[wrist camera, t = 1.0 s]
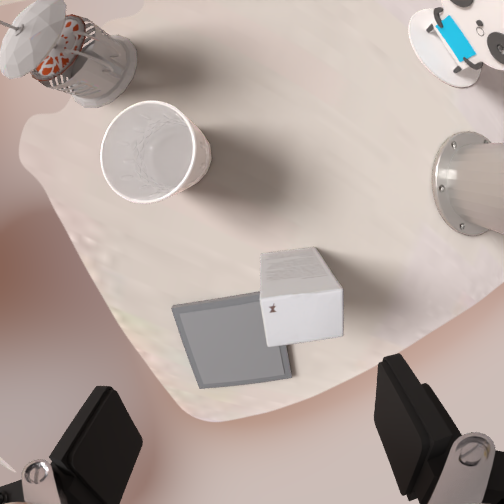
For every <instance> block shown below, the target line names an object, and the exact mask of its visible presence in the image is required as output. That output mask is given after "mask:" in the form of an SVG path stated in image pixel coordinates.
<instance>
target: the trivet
mask: <svg viewBox="0 0 504 504" xmlns="http://www.w3.org/2000/svg"><path fill="white" fill-rule="evenodd" d="M171 309H172V312H173V315H174V318H175V321H176V324H177V327H178V330H179V333H180V336H181V339H182V342H183V345H184V348H185V351H186V353H187V356H188V359H189V362H190V364H191V367H192V370H193V373H194V375H195V378H196V381H197V383H198V386H199V388H200V389H203V388H216V387H226V386H236V385H245V384H253V383H261V382H268V381H275V380H281V379H288V378H292V374H291V369H290V363H289V358H288V352H287V347H286V345H282V346H273V347H268V346H267V342H266V336H265V330H264V324H263V318H262V311H261V305H260V292H254V293H248V294H242V295H236V296H230V297H224V298H218V299H211V300H205V301H199V302H192V303H185V304H179V305H173V306H172V308H171Z"/></svg>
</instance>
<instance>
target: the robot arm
mask: <svg viewBox="0 0 504 504" xmlns="http://www.w3.org/2000/svg"><path fill="white" fill-rule="evenodd" d="M432 188H433V195H434V199H435V203H436V206H437V208H438V211H439V213H440V214H441V216H442V218H443V219H444V221H445V222H446V223H447V224H448V225H449V226H450V227H451V228H452V229H454V230H455V231H457V232H460V233H462V234H465V235H470V236H475V235H480V234H482V233H484V232H486V231H488V230H489V229H490V230H493V231H496V232H498V233H501V234H504V143H491V142H490V141H489V140H488V139H487V138H486V137H484V136H483V135H481V134H478V133H476V132H469V131H468V132H460V133H457V134H454V135H453V136H451V137H449V138H448V139H447V140H446V141H445V142H444V143H443V144H442V146H441V148H440V149H439V151H438V153H437V156H436V158H435V161H434V166H433V172H432ZM374 421H375V425H376V428H377V430H378V433H379V436H380V438H381V441H382V443H383V446H384V449H385V451H386V454H387V457H388V459H389V462H390V465H391V468H392V470H393V473H394V476H395V479H396V481H397V484H398V487H399V490H400V493H401V494H402V495H403V496H404V495H407V497H408V500H409V501H411V500H414V499H416V498H418V500H419V503H420V504H504V452H501V451H496V450H495V445H494V443H493V441H492V440H491V438H490V437H488V436H487V435H485V434H482V433H477V432H475V433H474V432H471V433H467V434H464V435H461V433H460V431H459V430H458V428H457V427H456V425H455V424H454V422H453V420H452V419H451V417H450V416H449V414H448V413H447V411H446V410H445V408H444V407H443V405H442V404H441V402H440V401H439V399H438V398H437V396H436V395H435V393H434V392H433V390H432V389H431V387H430V386H429V385H428V384H426V383H424V384H420V382H419V380H418V379H417V377H416V376H415V374H414V373H413V372H412V370H411V369H410V367H409V365H408V364H407V363H406V361H405V360H404V359H403V357H402V355H401V354H399V353H398V354H394V355H390V356H386V357H384V358H383V362H379V364H378V375H377V388H376V401H375V411H374ZM142 443H143V441H142V437H141V435H140V433H139V432H138V430H137V428H136V426H135V425H134V423H133V421H132V420H131V417H130V416H129V414H128V412H127V410H126V408H125V406H124V404H123V403H122V400H121V398H120V396H119V395H118V393H117V391H115V390H114V389H113V388H112V387H110V386H96V387H95V389H94V390H93V392H92V393H91V394H90V396H89V397H88V399H87V400H86V402H85V403H84V405H83V406H82V408H81V409H80V410H79V412H78V414H77V415H76V416H75V418H74V419H73V421H72V422H71V424H70V426H69V427H68V429H67V430H66V432H65V433H64V434H63V436H62V438H61V439H60V441H59V442H58V444H57V445H56V447H55V448H54V450H53V451H52V453H51V455H50V456H49V458H50V459H51V460H52V463H51V464H50V463H49V462H48V461H46V460H43V459H37V460H33V461H31V462H29V463H28V464H27V465H26V466H25V467H24V469H23V471H22V476H21V478H22V480H19V481H16V482H13V483H10V484H8V485H4V486H1V487H0V504H120V501H121V499H122V495H123V493H124V490H125V488H126V485H127V482H128V480H129V477H130V475H131V473H132V470H133V467H134V465H135V462H136V460H137V457H138V455H139V452H140V450H141V447H142Z"/></svg>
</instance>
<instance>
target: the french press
mask: <svg viewBox="0 0 504 504" xmlns="http://www.w3.org/2000/svg"><path fill="white" fill-rule="evenodd" d="M85 21H88V22H91V21H90V20H88V19H87V18H83V17H79V16H76V15H73V14H71V15H67V16H66V4H65V2H64V0H37V1H35V2H34V3H32V4H31V5H29V6H28V7H26V8H25V9H24V10H23V11H22V12H21V13H20V14H19V15H18V16H17V17H16V19H15V20H14V22H13V23H12V25H10V24H7V23H5V22H3V21H0V24H2V25H4V26H7V27H9V30H8V32H7V33H6V35H5V37H4V39H3V42H2V46H1V50H0V69H1V72H2V74H3V75H5V76H6V77H7V78H9V79H13V78H19V77H23V76H25V75H26V74H28V73H29V72H30V73H31V75H32V77H33V78H35V79H37V80H38V81H39V82H40V83H42V84H43V85H45V86H46V87H49V88H52V89H57V90H58V91H63V92H65V91H68V92H65V93H70V94H71V95H72V97H73V98H74V100H75V102H77V103H78V104H80V105H82V106H83V107H85V108H98V107H101V106H103V105H106V104H108V103H111V102H112V101H113V100H115V99H116V98H117V97H118V96H119V95H120V94H122V93H123V92H124V91H125V89H126V88H127V86H128V85H129V83H130V82H131V80H132V79H133V77H134V73H135V70H136V66H137V63H138V60H137V52H136V48H135V47H134V45H133V44H132V42H131V41H130V40H129V39H127V38H125V37H123V36H120V35H109V34H107V33H106V32H105V31H104V30H102V29H101V28H99V27H98V26H97V25H95V24H94V23H93V24H91V23H92V22H91V23H88V24H86V25H85V23H84V22H85ZM91 25H92V26H94V28H92V29H90V30H88V31H87V32H86V28H88V27H90V26H91ZM100 30H101V31H100ZM93 31H95V34H93V35H89V34H90V33H91V32H93ZM103 31H104V32H103ZM102 33H103V34H104V35H103V34H102ZM106 34H107V35H106ZM86 36H87V37H88V38H86ZM85 38H86V39H85ZM91 39H95V40H94V41H92V42H91V43H89V44H88V45H86V46H85V47H83V48H82V46H83V44H85V43H86V42H88V41H89V40H91ZM60 74H61V75H63V81H64V83H63V84H62V83H61V78H60ZM55 77H57V79H58V83H59V85H56V82H55ZM66 77H68V79H69V80H68V81H66ZM51 79H52V83H53V86H54V87H52V86H51V85H50V82H49V80H51ZM68 86H69V88H68ZM64 87H66V89H63V88H64ZM59 89H61V90H59Z"/></svg>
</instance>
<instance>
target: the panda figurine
mask: <svg viewBox="0 0 504 504" xmlns="http://www.w3.org/2000/svg"><path fill="white" fill-rule="evenodd" d="M441 2H442V6H443V8H441V7H438V8H435V9H422V10H419V11H417V12H416V13H415V14H414V15H413V16H412V17H411V19H410V21H409V26H408V33H409V39H410V42H411V45H412V47H413V49H414V52H415V53H416V55H417V57H418V58H419V60H420V61H421V62H422V64H423V65H424V66H425V67H426V68H427V70H428V71H429V72H430V73H432V74H433V75H434V76H435V77H436V78H438V79H439V80H441V81H442V82H444V83H446V84H448V85H451V86H454V87H467V86H470V85H472V84H474V83H475V82H476V81H477V79H478V78H479V75H480V72H481V68H482V66H483V62H484V63H485V64H486V65H488V66H490V67H492V68H494V69H498V70H504V0H441ZM443 9H444V10H443ZM481 61H482V62H481Z"/></svg>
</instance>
